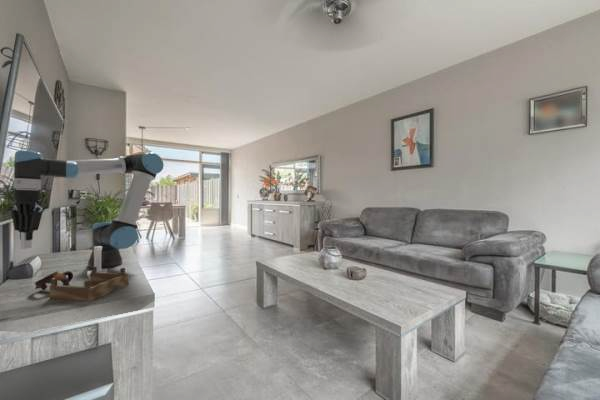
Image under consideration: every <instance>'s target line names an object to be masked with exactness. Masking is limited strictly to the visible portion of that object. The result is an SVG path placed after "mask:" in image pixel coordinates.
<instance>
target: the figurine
mask: <svg viewBox="0 0 600 400" xmlns="http://www.w3.org/2000/svg"><path fill="white" fill-rule="evenodd" d="M101 251H102V246H95V247H94V267H97V269H96V272H101V273H109V271H108V268H101ZM90 274H91V270H87V271H86V276H87V277H88V280H90Z"/></svg>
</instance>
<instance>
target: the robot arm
mask: <svg viewBox="0 0 600 400" xmlns="http://www.w3.org/2000/svg"><path fill="white" fill-rule="evenodd" d="M13 163H14V166H13V173H14V174H13V175H14V176H13V189H14V190H13V199H14V200H16V201H15V203H14V205H13V206H9V207H8V209H9V211H10V213H11V218H12V223H13V228H14V230H15V231H18V232H19V240H20V250H25V249H31V248H32V244H33V242H32V240H33V237H34V234H33V233H34V232H36V231H39V226H40V224H41V223H40V222H41V220H42V215H43V213H44V211H45V207H44V206H40V203H39V200H41V194H42V193H41V191H40V190H41V189H42V178H43V179H49V178H54V179H55V178H64V179H65V178H66V179H68V178H69V179H74V178H77V176H87V175H88V176H89V175H97V174H98V175H99V174H108V173H109V174H110V173H111V174H112V173H119V174H132V175H133V176H132V179H131V182H130V184H129V187H128V189H127V192H126V194H125V197H124V199H123V202H122V205H121V207H120V208H119V209H120V210H119V212H118V215H117V216H116V217H115V218H113V219H112V220H111V221H108V222H106V221H105V222H96V223H94V224H93V225H92V229H91V232H92V235H91V236H92V239H91V241H92V242H91V243H92V244H91V246H92V247H91V254H90V256H89V258H88V259H89V260H88V261H87V267H88V268H92V267H94V247H95V246H102V251H101V269H105V268H109V267H117V266H119V265H122V263H123V257H122V256H121V252H120V250H123V249H126V250H127V249H129V248H131V247H132V246H134V245H135V244H136V243H137V240H138V238H139V233H138V230H137V228H138V223H137V220H138V216H139V213H140V211H141V209H142V207H143V203H144V201H145V198H146V195H147V192H148V190H149V187H150V184H151V182H152V181H155V179H156V177H157V174H160V173H161V172H162V171H163V170H164V165H165V164H164V161H163V158H162V157H161V156H160V155H159V154H157V153H155V152H148V151H147V152H143V153H135V154H130V155H124V156H122V155H121V156H117V157H116V158H95V159H74V160H73V159H70V160H63V159H56V158H55V159H52V158H46V157H43V155H42V153H40V152H37V151H31V150H17V151H16V152H14V161H13Z"/></svg>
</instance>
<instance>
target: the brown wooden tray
mask: <svg viewBox="0 0 600 400" xmlns="http://www.w3.org/2000/svg"><path fill="white" fill-rule="evenodd" d="M96 269H97V267H92V268H91V270H90V271H91V274H90V279H87V280H85V281H84V285H83V286H82V285H81V286H79V285H77V286H76V285H70V286H64V285H63V284H61V285H60V284H58V280H57V279H55V278H52V279H51V283H50V285H49V299H52V300H68V301H70V300H71V301H86V302H92V301H95V300H97V299H100V298H102V297H103V296H106V295H108V294H110V293H113V292H115V291H117V290H120V289H122V288H124V287H126V286H128V285H129V273H126V267H121V268H119V269H120V270H119V273H118V272H108V273H101V272H96ZM92 284H94V285H93V286H92ZM121 287H122V288H121Z"/></svg>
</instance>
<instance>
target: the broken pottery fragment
mask: <svg viewBox="0 0 600 400" xmlns="http://www.w3.org/2000/svg"><path fill="white" fill-rule="evenodd" d="M73 278H74V274H73V272H71V271H64V272H62V273H59V272H58V271H54V272H52V273H50V274H48V275H47V276H45V277H43V278H41V279H39V280H37V281H35V283H34V285H35V288H34V289H35V290H38V289H41V290H44V291H45V290H47V288H48V285H47V284H50V285H51V279H57V282H58V281H59V282H61V283H62V285H64V286H71V285H70V282H71V281H72V280H73Z"/></svg>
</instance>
